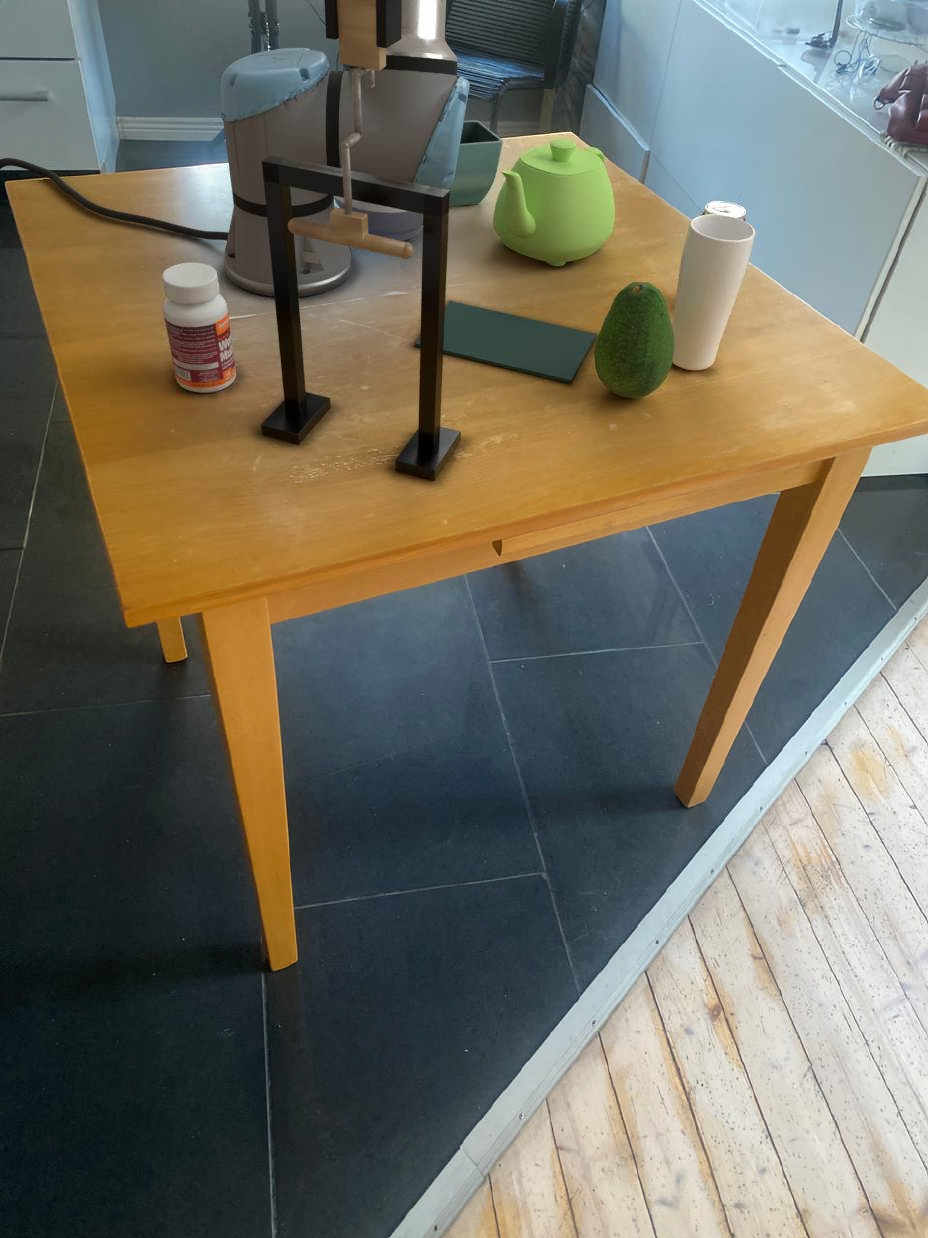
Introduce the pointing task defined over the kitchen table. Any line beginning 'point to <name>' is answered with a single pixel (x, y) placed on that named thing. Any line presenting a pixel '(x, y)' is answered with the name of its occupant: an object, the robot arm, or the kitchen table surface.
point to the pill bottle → (198, 328)
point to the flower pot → (475, 164)
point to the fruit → (635, 342)
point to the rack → (299, 406)
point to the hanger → (360, 52)
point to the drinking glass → (708, 286)
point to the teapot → (556, 203)
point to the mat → (514, 342)
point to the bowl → (387, 220)
